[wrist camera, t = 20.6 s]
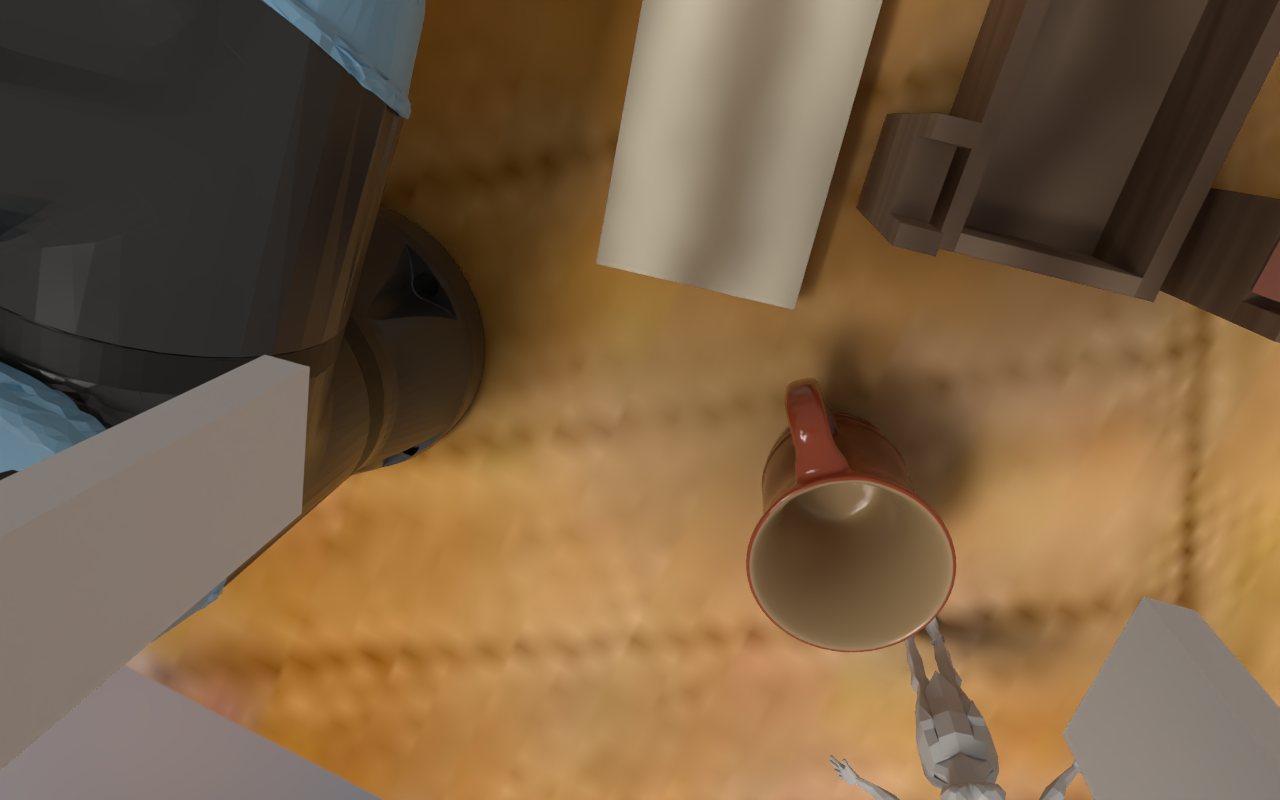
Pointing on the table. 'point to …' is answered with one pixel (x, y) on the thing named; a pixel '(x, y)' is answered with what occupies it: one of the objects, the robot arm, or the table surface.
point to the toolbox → (1095, 152)
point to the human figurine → (951, 737)
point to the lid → (732, 140)
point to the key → (1270, 278)
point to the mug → (844, 534)
